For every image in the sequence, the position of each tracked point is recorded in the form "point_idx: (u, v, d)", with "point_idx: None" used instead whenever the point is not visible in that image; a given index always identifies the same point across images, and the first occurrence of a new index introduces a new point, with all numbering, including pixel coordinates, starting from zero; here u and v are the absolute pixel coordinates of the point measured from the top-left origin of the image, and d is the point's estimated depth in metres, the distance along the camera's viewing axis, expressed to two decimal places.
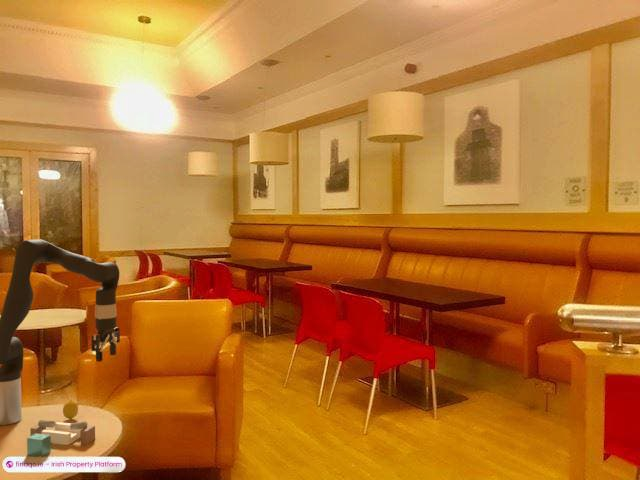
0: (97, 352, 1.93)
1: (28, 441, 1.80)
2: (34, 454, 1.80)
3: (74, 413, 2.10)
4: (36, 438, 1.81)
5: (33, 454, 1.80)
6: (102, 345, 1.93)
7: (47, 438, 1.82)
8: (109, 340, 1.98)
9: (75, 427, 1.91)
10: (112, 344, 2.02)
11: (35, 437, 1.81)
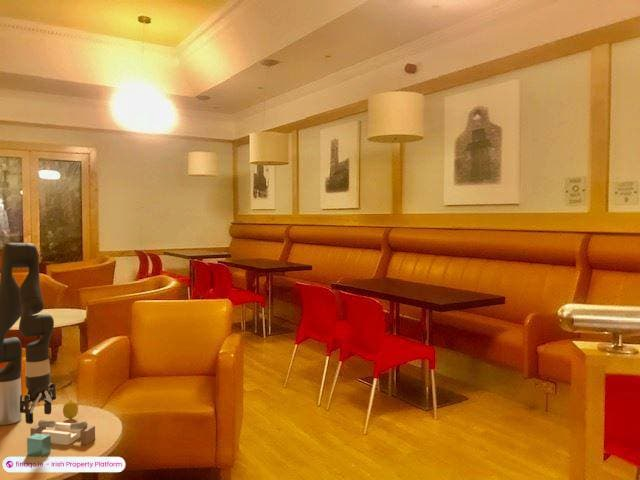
0: (27, 414, 1.76)
1: (28, 441, 1.80)
2: (34, 454, 1.80)
3: (74, 413, 2.10)
4: (36, 438, 1.81)
5: (33, 454, 1.80)
6: (32, 406, 1.77)
7: (47, 438, 1.82)
8: (42, 399, 1.81)
9: (75, 427, 1.91)
10: (47, 402, 1.85)
11: (35, 437, 1.81)
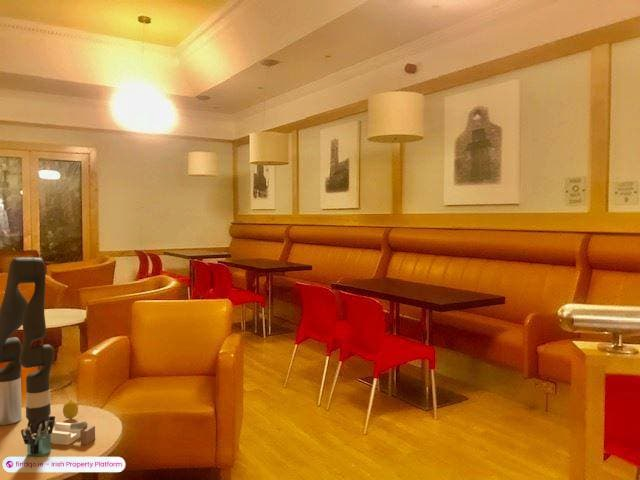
0: (31, 445, 1.79)
1: None
2: None
3: (74, 413, 2.10)
4: None
5: None
6: (36, 437, 1.79)
7: (47, 438, 1.82)
8: None
9: (75, 427, 1.91)
10: None
11: None
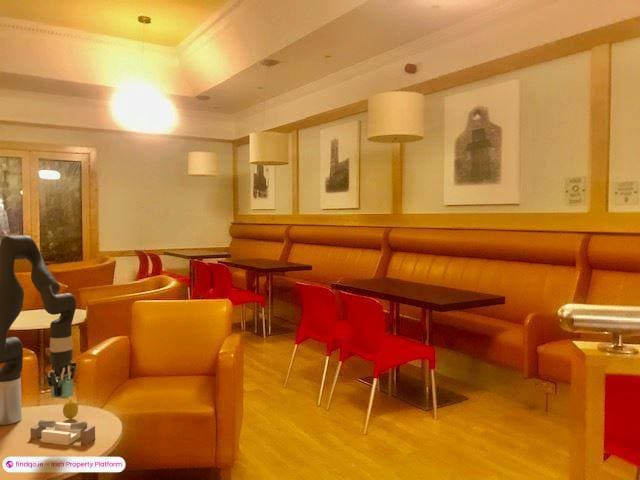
0: (55, 387, 1.89)
1: None
2: None
3: (74, 413, 2.10)
4: None
5: None
6: (59, 380, 1.90)
7: (70, 381, 1.93)
8: None
9: (75, 427, 1.91)
10: None
11: None
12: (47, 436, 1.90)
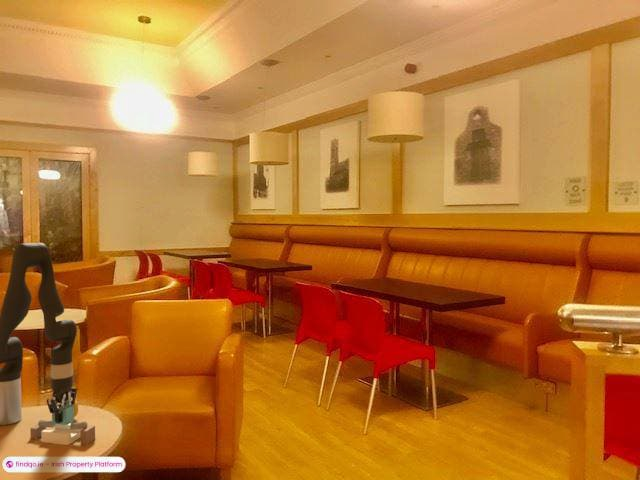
0: (56, 414, 1.90)
1: None
2: None
3: (74, 413, 2.10)
4: None
5: None
6: (60, 407, 1.90)
7: (70, 408, 1.93)
8: (64, 399, 1.93)
9: (75, 427, 1.91)
10: None
11: None
12: (47, 436, 1.90)
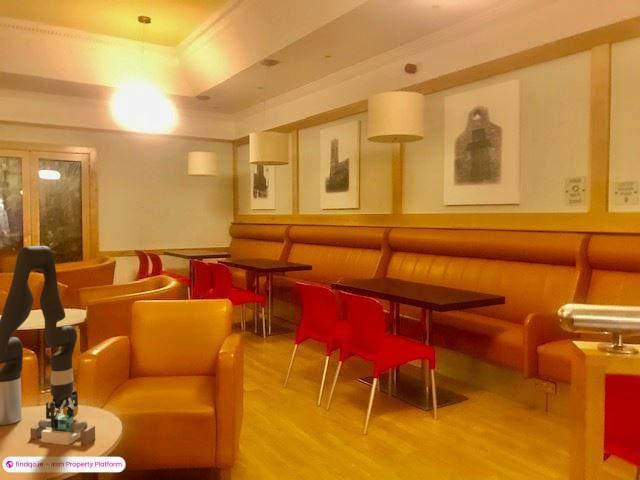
0: (52, 420, 1.88)
1: None
2: None
3: (74, 413, 2.10)
4: (60, 418, 1.92)
5: None
6: (57, 412, 1.89)
7: (70, 419, 1.93)
8: (65, 405, 1.93)
9: (75, 427, 1.91)
10: (69, 409, 1.97)
11: (59, 418, 1.93)
12: (47, 436, 1.90)
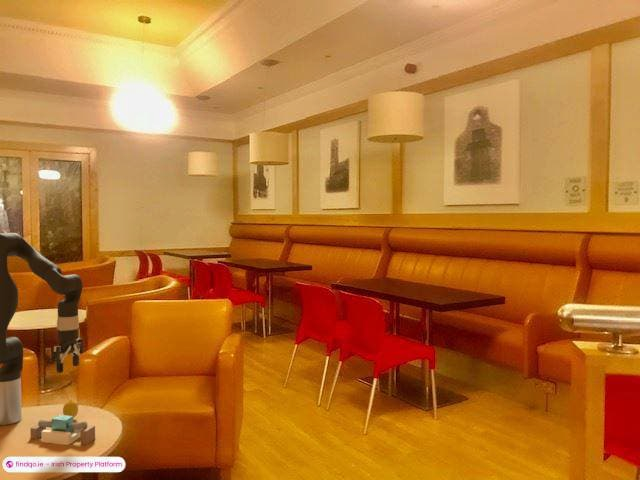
0: (57, 363, 1.95)
1: (53, 421, 1.92)
2: None
3: (74, 413, 2.10)
4: (60, 418, 1.92)
5: None
6: (63, 356, 1.96)
7: (70, 419, 1.93)
8: (71, 351, 2.00)
9: (75, 427, 1.91)
10: (75, 355, 2.04)
11: (59, 418, 1.93)
12: (47, 436, 1.90)
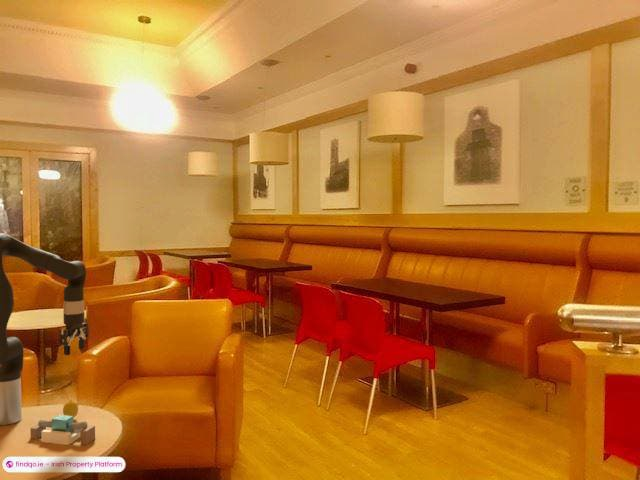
0: (65, 346, 2.03)
1: (53, 421, 1.92)
2: None
3: (74, 413, 2.10)
4: (60, 418, 1.92)
5: None
6: (70, 339, 2.04)
7: (70, 419, 1.93)
8: (77, 335, 2.08)
9: (75, 427, 1.91)
10: (81, 339, 2.12)
11: (59, 418, 1.93)
12: (47, 436, 1.90)
